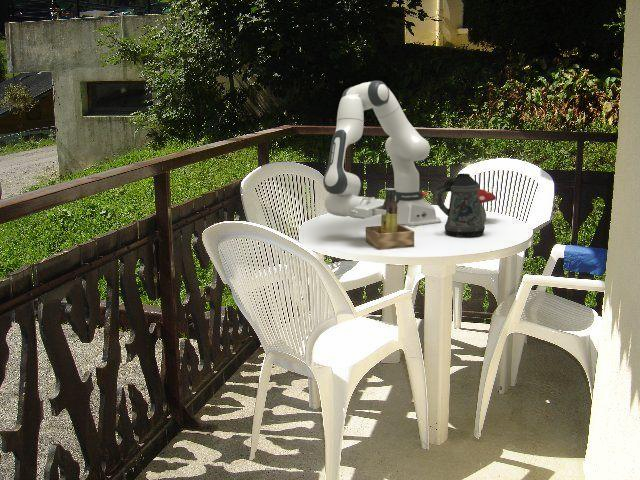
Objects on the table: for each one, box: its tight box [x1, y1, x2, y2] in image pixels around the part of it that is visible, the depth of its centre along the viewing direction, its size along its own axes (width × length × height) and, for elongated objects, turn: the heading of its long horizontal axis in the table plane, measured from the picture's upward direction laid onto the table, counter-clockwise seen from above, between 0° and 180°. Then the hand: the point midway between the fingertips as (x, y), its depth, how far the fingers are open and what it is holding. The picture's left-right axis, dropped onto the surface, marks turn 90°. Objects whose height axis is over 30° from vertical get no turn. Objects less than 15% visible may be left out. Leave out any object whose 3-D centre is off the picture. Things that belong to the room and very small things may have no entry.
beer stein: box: [435, 173, 486, 239], centre depth 321 cm, size 16×19×25 cm
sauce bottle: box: [380, 187, 398, 234], centre depth 305 cm, size 6×6×20 cm
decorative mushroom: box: [478, 188, 497, 223], centre depth 347 cm, size 16×16×15 cm
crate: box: [364, 224, 415, 251], centre depth 307 cm, size 15×15×6 cm
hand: (391, 210), depth 304 cm, fingers closed on sauce bottle, 6 cm apart
